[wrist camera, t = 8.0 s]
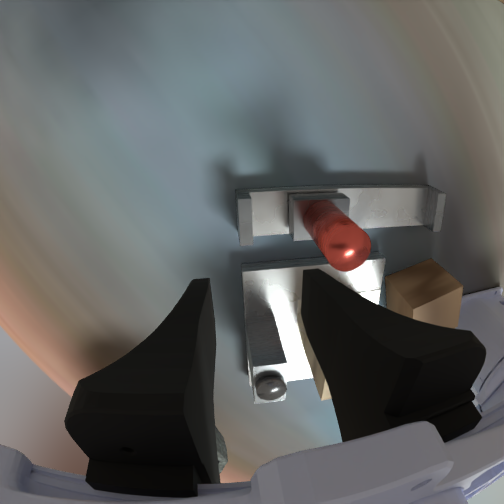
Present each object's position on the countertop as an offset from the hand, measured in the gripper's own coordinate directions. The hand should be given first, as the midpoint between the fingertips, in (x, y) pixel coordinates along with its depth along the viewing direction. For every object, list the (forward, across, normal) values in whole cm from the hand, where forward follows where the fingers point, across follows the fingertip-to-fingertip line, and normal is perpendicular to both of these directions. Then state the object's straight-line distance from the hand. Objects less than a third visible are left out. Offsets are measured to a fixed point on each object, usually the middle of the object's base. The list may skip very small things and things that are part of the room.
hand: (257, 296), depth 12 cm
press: (+10, -6, +10) cm, 15 cm away
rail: (+10, -8, 0) cm, 13 cm away
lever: (+9, -5, 0) cm, 10 cm away
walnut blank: (+10, -15, +8) cm, 20 cm away
